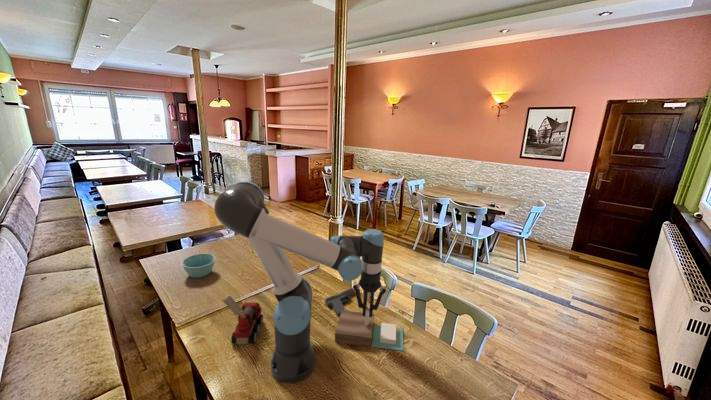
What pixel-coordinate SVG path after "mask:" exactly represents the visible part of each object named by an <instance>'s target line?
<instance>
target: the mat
mask: <svg viewBox="0 0 711 400" xmlns="http://www.w3.org/2000/svg"><path fill="white" fill-rule="evenodd" d="M397 328H398V330H397V332H396V345H395V344H388V343H380V335H381V325H378V324H373V333H372V342H371V347H372V348H379V349H386V350H393V351H400V352H404V351H405V350H404V328H401V327H397ZM400 329H401V330H400ZM398 331H399V332H398Z"/></svg>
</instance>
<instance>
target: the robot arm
mask: <svg viewBox="0 0 711 400" xmlns="http://www.w3.org/2000/svg"><path fill="white" fill-rule="evenodd" d="M213 210H214V214H215V217H216V219H217V220H218V222H219V223H220V224H221V225H223V226H224V228H227V229H228V230H230V231H232V232H234V233H237V234H238V235H241V236H243V237H245V238H247V239H248V241H249V243H250V245H251V246H252V248H253V249H254V252H255V254H256V255H257V257H258V258H259V260H260V262H261V264H262V266H263V267H264V270H265V271H266V272H267V275H268V277H269V278H270V280H271V281H272V284H273V289H272V293H273V294H274V296H275V298H276V301H278V303H277V305H276V306H275V308H274V313H273V323H274V324H273V325H274V342H275V343H274V344H275V345H274V346H275V348H274V350H273V353H272V357H271V359H270V372H271V374H272V376H273V377H274V378H275V379H276V380H277V381H279V382H281V383H286V384H293V383H298V382H301V381H304V380H305V379H307V378H308V377H309V376H310V375H311V374H312V373H313V371H315V370H314V369H315V367H316V354H315V351H314V349H313V346H312V344H311V319H312V317H311V316H312V315H311V314H312V300H313V289H312V286H311V284H310V283H309V281H308V280H307V279H306V278H304V277H303V276H302V274H301V273H297V272H296V270H294V268H293V265H292V263H291V262H290V259H289V258H288V256H287V253H286V252H285V250H286V251H289V252H292V253H294V254H295V255H299V256H301V257H304V258H306V259H309V260H311V261H313V262H316V263H318V264H321V265H324V266H326V267H328V268H331V269H333V270H335V271H337V272H338V274H339V276H340V277H341V278H342V279H343V280H345V281H349V282H350V281H354V280H357V279H358V278H359V277H360V279H358V280H359V281H358V282H356V281H355V282H354V283H353V285H352V289H353V290H354V291H355V292H356V294H355V296H356V300H357V301H356V302H357V305H358V306H357V307H358V308H359V309H362V313H363V316H365V325H368V324H369V317H372V314H374V313H373V311H377V310H378V309H379V306H380V303H381V301H382V298H383V295H384V294H385V293H386V292H387V286H385V285H382V282H381V275H382V274H381V273H382V264H383V251H384V246H385V244H384V243H385V242H384V237H385V235H384V233H383V232H382V231H380V230H378V229H375V228H374V229H373V228H370V229H366V230H365V231H364V232H363V235H333V236H331V237H330V240H328V239H325V238H323V237H320V236H318V235H316V234H314V233H312V232H309V231H307V230H305V229H302V228H300V227H298V226H296V225H294V224H292V223H289V222H286V221H285V220H282V219H280V218H277V217H275V216H272V215H270V211H269V210H268V208H267V205H266V203H265V195H264V192H263V190H262V187H260V186H259V185H258V184H256V183H255V182H253V181H247V180H244V181H239V182H236V183H234V184H232V185H230V186H229V187H228V188H227V189H226V190H225V191H223V192H222V193H220V195H219V196H218V197H217V198H216V200H215V203H214V209H213ZM360 288H361V289H362V290H363V298H362V295H361V289H360ZM378 290H379V292H378V295H377V298H376V300H375V299H374V298H375V293H376V292H377V291H378ZM369 293H370V300H369V306H368V294H369ZM362 299H363V300H362ZM374 301H375V302H374ZM374 303H375V304H374Z"/></svg>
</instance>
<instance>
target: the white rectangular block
mask: <svg viewBox="0 0 711 400" xmlns="http://www.w3.org/2000/svg"><path fill="white" fill-rule="evenodd" d="M380 326H381V335H380V343H388V344H395V345H396V328H397V325H396V324H395V323H387V322H381V324H380Z"/></svg>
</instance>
